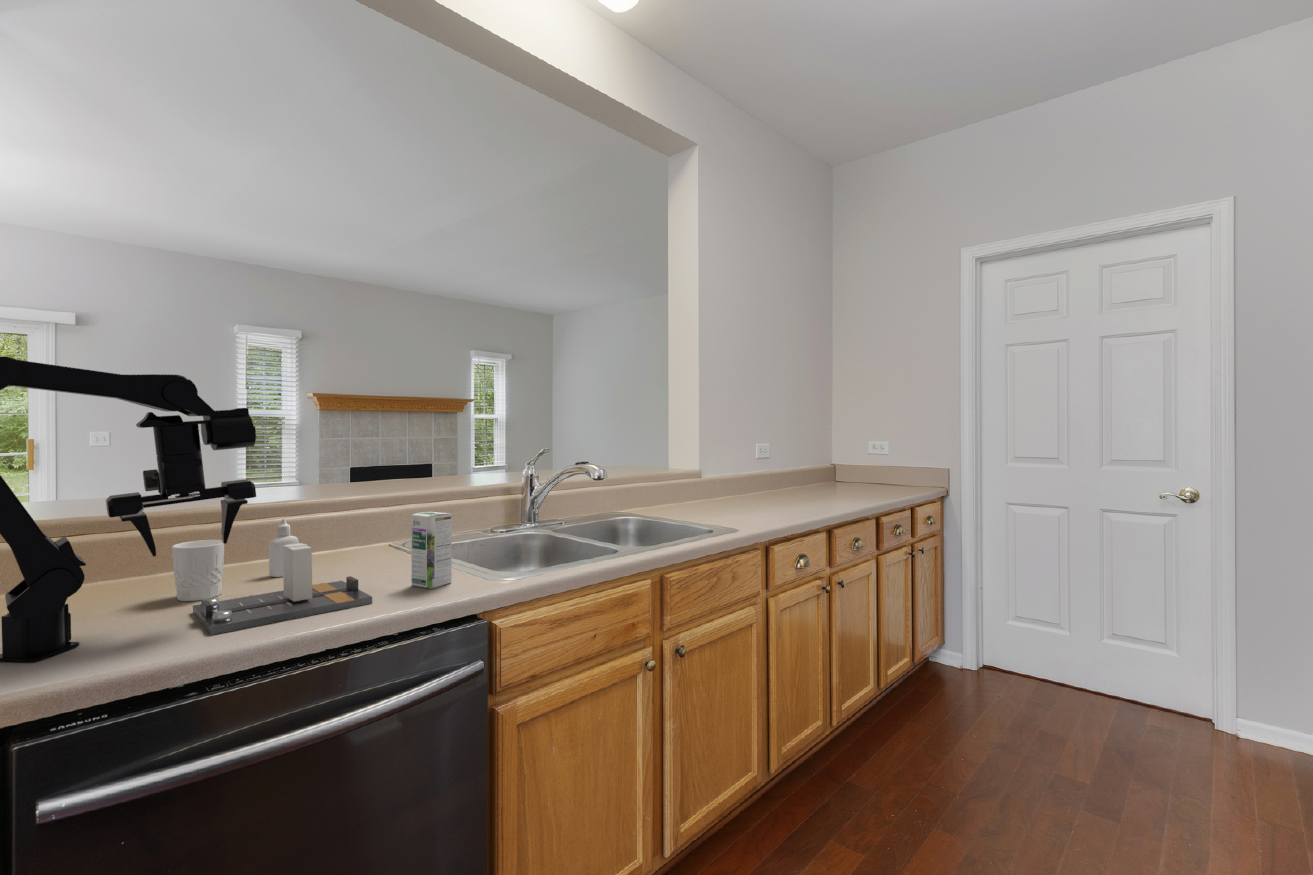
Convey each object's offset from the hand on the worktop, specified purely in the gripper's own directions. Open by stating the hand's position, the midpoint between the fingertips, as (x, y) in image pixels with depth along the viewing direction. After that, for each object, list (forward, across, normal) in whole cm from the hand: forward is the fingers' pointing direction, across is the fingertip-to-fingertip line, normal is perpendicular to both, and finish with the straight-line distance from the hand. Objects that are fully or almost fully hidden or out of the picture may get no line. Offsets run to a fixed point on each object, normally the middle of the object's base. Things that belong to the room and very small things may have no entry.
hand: (190, 549), depth 100 cm
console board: (+13, -12, +1) cm, 18 cm away
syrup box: (+15, -38, +3) cm, 41 cm away
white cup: (+13, -2, -18) cm, 23 cm away
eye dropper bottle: (+14, -18, -26) cm, 35 cm away
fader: (+12, -14, +1) cm, 19 cm away
